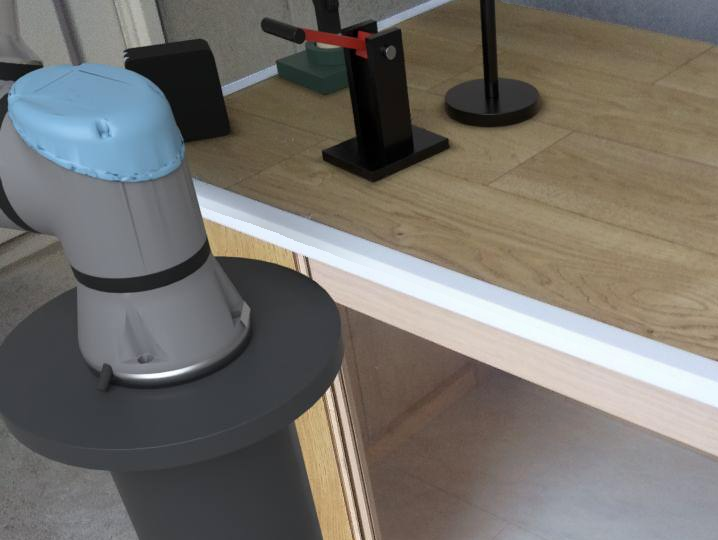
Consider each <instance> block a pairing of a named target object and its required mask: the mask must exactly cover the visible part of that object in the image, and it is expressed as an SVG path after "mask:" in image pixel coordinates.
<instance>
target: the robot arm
mask: <svg viewBox="0 0 718 540" xmlns="http://www.w3.org/2000/svg"><path fill="white" fill-rule="evenodd" d="M339 1H340V0H311V2H312V5H313V8H314V13H315V19H316V27H317V31H321V32H326V33H332V34H339V33H341V29H342V24H341V18H340V11H339V8H340V2H339ZM192 176H193V175H192V172H191V168H190V164H189V161H188V156H187V152H186V146H185V142H184V139H183V138H182V135H181V133H180V130H179V128H178V126H177V125H176V122H175V119H174V116H173V113H172V110H171V107H170V104H169V102H168V101H167V99H166V97H165V95H164V94H163V92H162V91H161V90H160V89H159V88H158V87H157V86H156V85H155V84H154V83H153V82H151V81H150V80H149V79H147V78H145V77H144V76H142V75H140V74H138V73H135V72H133V71H130V70H127V69H125V68H123V67H120V66H114V65H110V64H104V63H94V62H93V63H90V62H83V63H81V64H80V65H71V64H69V63H62V64H56V65H55V64H54V65H49V66H45V67H44V61H43V60H42V58H41V57H40V56H39V55H38V54H37V53H36V52H35V51H34V50H33V49H32V48H31V47H30V46H29V45H28V44H27V43H26V42H25V40H24V38H23V37H22V35H21V26H20V18H19V7H18V0H0V228H2V229H8V230H14V231H21V232H27V233H33V234H40V235H46V236H51V237H56V238H57V239H59V241H60V243H61V246H62V248H63V250H64V253H65V256H66V259H67V261H68V263H69V267H70V268H71V269H70V270H71V271H72V273H73V277H74V279H75V281H76V286H77V314H78V341H79V348H80V351H81V353H82V356H83V358H84V361H85V363H86V366H87V367H88V369H89V370H90V372H91V373H92V374H93V375H95V376H96V377H97V378H99V379H98V382H97V385H96V389H98V390H101V391H104V392H107V390H108V387H109V384H112V385H115V386H119V387H124V388H132V389H159V388H167V387H173V386H178V385H183V384H187V383H190V382H194V381H196V380H199V379H202V378H205V377H207V376H209V375H212V374H214V373H216V372H218V371H219V370H221V369H223V368H225V367H226V366H228V365H229V364H231V363H232V362H233V361H234V360H236V359H237V358H238V357H239V356H240V355H241V354H242V353H243V352H244V351H245V349H246V348H247V346H248V345H249V343H250V341H251V338H252V333H253V327H252V322H251V318H250V315H249V314H250V308H249V306H248V305H247V304H246V302H245V301H244V300H243V298H242V297H241V295H240V294H239V292H238V291H237V290H236V288H235V287H234V285H233V284H232V282H231V281H230V279H229V278H228V276H227V275H226V273H225V272H224V270H223V269H222V267H221V266H220V264H219V263H218V261H217V260H216V258H215V257H214V256H215V255H214V253H213V251H212V248H211V244H210V241H209V238H208V237H209V236H208V234H207V229H206V226H205V222H204V218H203V214H202V211H201V207H200V202H199V199H198V195H197V192H196V191H197V190H196V188H195V184H194V180H193V177H192Z"/></svg>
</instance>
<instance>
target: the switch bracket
mask: <svg viewBox="0 0 718 540" xmlns="http://www.w3.org/2000/svg"><path fill="white" fill-rule="evenodd" d="M358 31H363V32H368V33H373V35H371V36H368V37H365V44H366V51H367V58H364V57H361V56H358V55H356V49H352V48H346V47H343V51H344V57H345V64H346V71H347V78H348V84H349V86H348V91H349V97H350V98H349V99H350V105H351V111H352V117H353V124H354V125H353V126H354V130H355V131H354V132H355V136H353V137H351V138H349V139H346V140H344V141H341V142H339V143H337V144H335V145H332V146H329V147H327V148H325V149H323V150H321V156H322V161H323V162H325V163H328V164H330V165H333V166H334V167H337V168H339V169H341V170H344V171H346V172H348V173H351V174H353V175H355V176H358V177H360V178H363V179H364V180H367V181H369V182H372V183H376V182H378V181H381V180H382V179H384V178H387V177H389V176H392V175H394V174H395V173H398V172H400V171H403V170H404V169H407V168H409V167H411V166H414V165H415V164H418V163H420V162H422V161H424V160H426V159H428V158H431V157H433V156H435V155H438V154H439V153H441V152H444V151H446V150H448V149H450V138H449V137H446V136H444V135H441V134H439V133H438V134H437V133H435V132H433V131H430V130H428V129H426V128H423V127H419V126H417V125H414V124H412V117H411V107H410V97H409V89H408V88H409V87H408V79H407V70H406V61H405V51H404V42H403V34H402V33H403V32H402V28H401V27H397V26H394V27H391V28H388V29H384V30H383V31H380V32H379V27H378V21H377V20H375V19H372V18H369V19H367V20H364V21H361V22H357V23H355V24H353V25H350V26H349V25H348V26H347V27H343V28H341V35H343V36H348V37H354V38H358Z"/></svg>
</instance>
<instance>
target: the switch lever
mask: <svg viewBox="0 0 718 540" xmlns="http://www.w3.org/2000/svg"><path fill="white" fill-rule="evenodd" d="M260 28H261V31H263V33H265V34H268V35H271V36H273V37H277V38H279V39H283V40H285V41H287V42H291V43H294V44H297V45H302V44H304V43H305V42H307V41H311V42H317V43H323V44H328V45H334V46H340V47H346V48H352V49H356V55H358V56H361V57H364V58H367V51H366V44H365V37H368V36H371V35H373V33H368V32H363V31H358V38H354V37H348V36H343V35H337V34H332V33H326V32H321V31H318V30H316V29H309V28H306V27H305V28H304V27H299V26H295V25H292V24H289V23H286V22H283V21H280V20H277V19H274V18H271V17H268V16H266V17H263V18H262V19H261V20H260Z"/></svg>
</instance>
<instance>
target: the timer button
mask: <svg viewBox="0 0 718 540" xmlns="http://www.w3.org/2000/svg"><path fill="white" fill-rule="evenodd" d="M337 35H341V33H339V34H337ZM316 44H317V47H320V48H337V47H340V46H334V45H328V44H323V43H317V42H316Z"/></svg>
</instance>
